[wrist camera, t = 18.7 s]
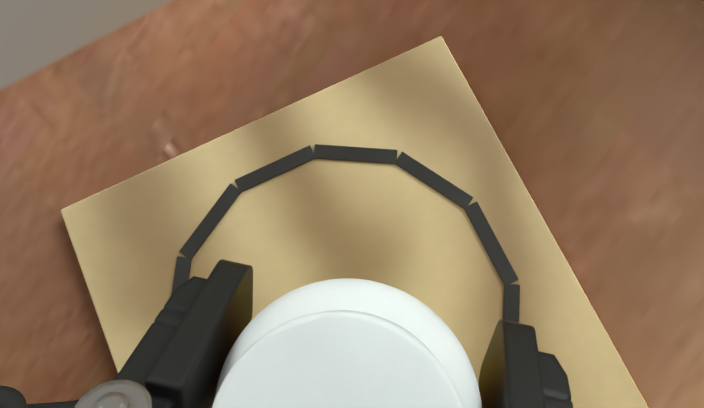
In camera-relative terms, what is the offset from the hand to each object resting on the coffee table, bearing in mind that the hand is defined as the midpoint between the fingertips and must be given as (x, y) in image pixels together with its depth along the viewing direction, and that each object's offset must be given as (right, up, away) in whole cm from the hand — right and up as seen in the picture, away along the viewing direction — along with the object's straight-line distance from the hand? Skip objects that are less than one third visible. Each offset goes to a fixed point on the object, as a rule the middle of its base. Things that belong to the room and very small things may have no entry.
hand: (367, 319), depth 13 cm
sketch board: (-1, -1, +6) cm, 6 cm away
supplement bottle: (0, -3, +5) cm, 6 cm away
